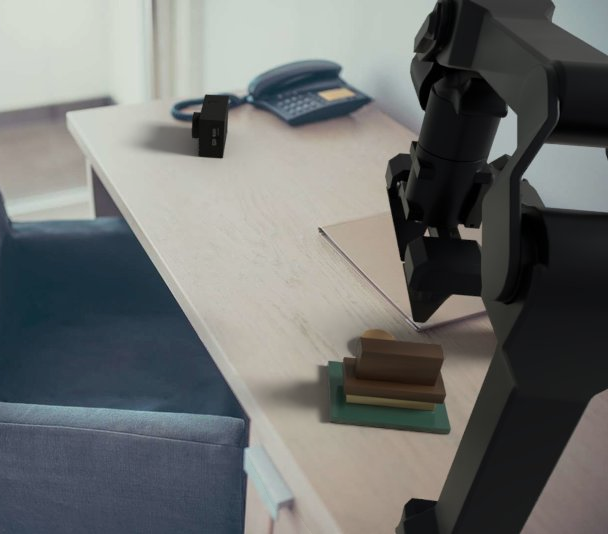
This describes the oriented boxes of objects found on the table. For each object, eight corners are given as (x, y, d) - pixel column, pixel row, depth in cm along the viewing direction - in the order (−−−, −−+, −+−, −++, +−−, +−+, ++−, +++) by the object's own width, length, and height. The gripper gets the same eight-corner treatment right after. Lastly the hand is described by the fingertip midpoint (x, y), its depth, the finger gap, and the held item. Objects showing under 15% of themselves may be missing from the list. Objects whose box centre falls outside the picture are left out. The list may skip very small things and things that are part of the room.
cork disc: (399, 344, 75) (401, 337, 74) (387, 365, 72) (389, 358, 72) (367, 331, 77) (368, 324, 76) (354, 351, 74) (355, 344, 73)
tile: (449, 434, 65) (451, 429, 65) (330, 422, 66) (331, 417, 65) (435, 375, 71) (437, 370, 71) (327, 365, 72) (328, 360, 72)
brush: (439, 414, 66) (457, 367, 62) (341, 404, 67) (352, 357, 62) (432, 384, 69) (449, 338, 65) (339, 375, 70) (349, 329, 66)
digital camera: (197, 129, 118) (198, 92, 114) (227, 131, 118) (229, 94, 113) (191, 156, 110) (191, 118, 105) (222, 158, 109) (224, 120, 105)
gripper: (595, 215, 45) (523, 367, 55) (522, 105, 60) (475, 241, 69) (434, 202, 46) (390, 355, 56) (401, 97, 61) (371, 232, 70)
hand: (411, 289), depth 63 cm, fingers open, 9 cm apart
